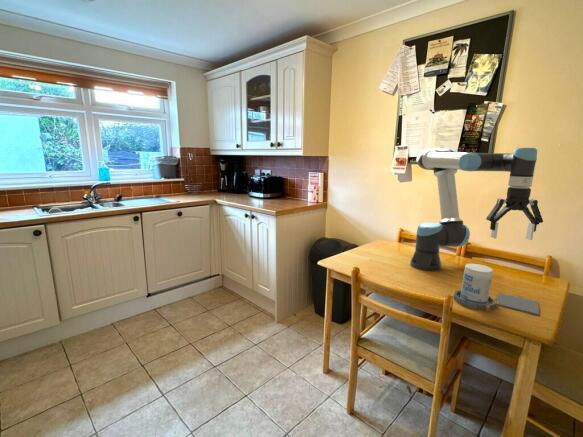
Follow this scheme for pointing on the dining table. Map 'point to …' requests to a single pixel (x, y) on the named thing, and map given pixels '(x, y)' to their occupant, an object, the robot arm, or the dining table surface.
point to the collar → (475, 306)
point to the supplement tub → (476, 284)
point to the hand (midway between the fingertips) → (511, 238)
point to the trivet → (518, 303)
